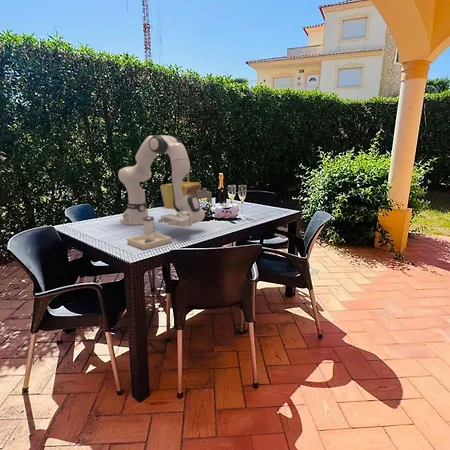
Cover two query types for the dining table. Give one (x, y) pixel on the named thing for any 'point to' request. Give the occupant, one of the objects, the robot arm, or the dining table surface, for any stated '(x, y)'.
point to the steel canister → (149, 229)
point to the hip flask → (204, 194)
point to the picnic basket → (186, 189)
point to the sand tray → (159, 241)
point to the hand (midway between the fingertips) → (163, 222)
